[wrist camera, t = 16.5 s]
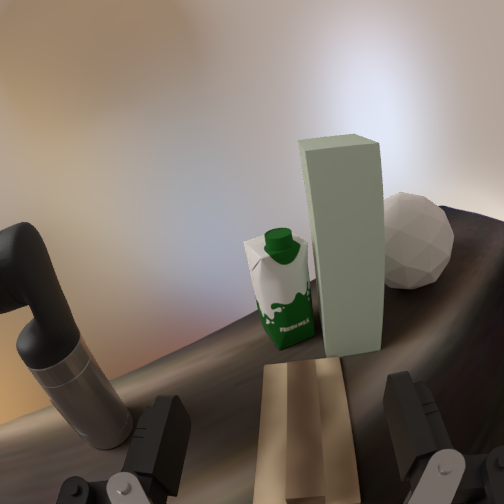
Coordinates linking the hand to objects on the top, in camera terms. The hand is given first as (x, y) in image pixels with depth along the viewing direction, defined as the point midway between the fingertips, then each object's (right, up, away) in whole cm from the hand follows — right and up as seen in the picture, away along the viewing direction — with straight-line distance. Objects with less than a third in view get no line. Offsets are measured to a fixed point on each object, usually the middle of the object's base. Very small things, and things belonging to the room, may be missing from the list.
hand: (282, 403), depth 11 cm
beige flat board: (+6, -18, +26) cm, 32 cm away
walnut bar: (+6, -18, +24) cm, 31 cm away
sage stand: (+16, -8, +42) cm, 46 cm away
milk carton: (+6, -9, +45) cm, 47 cm away
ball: (+32, -1, +51) cm, 60 cm away
